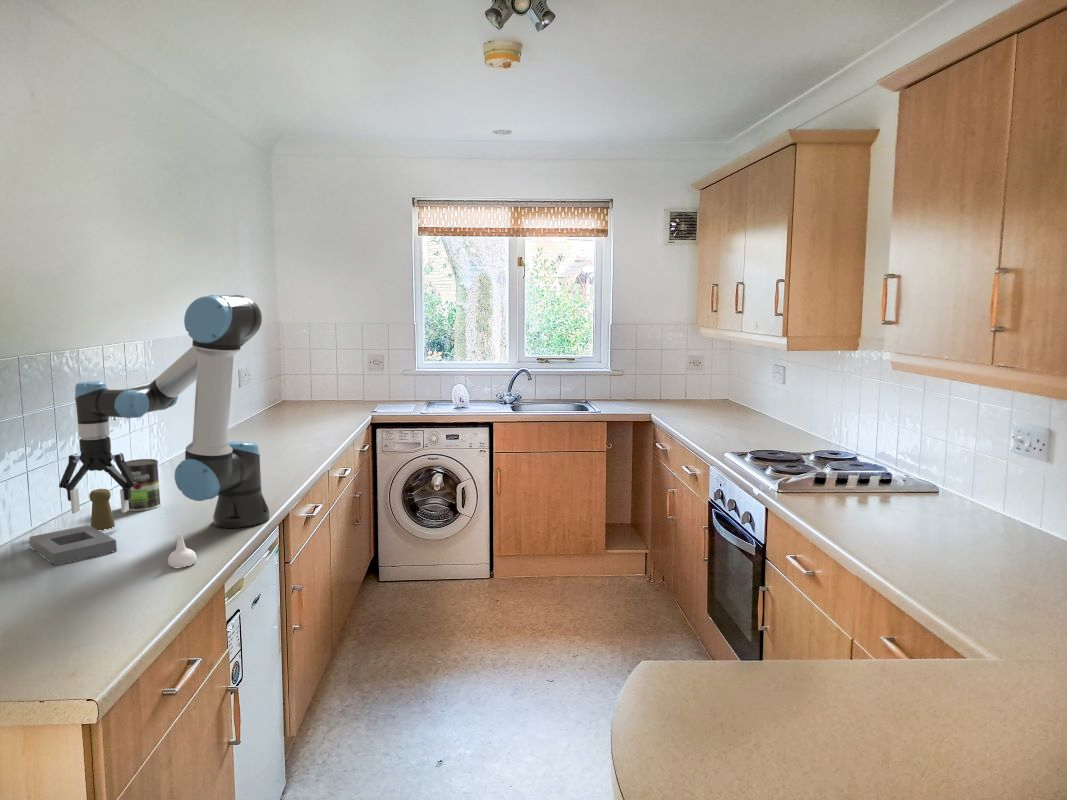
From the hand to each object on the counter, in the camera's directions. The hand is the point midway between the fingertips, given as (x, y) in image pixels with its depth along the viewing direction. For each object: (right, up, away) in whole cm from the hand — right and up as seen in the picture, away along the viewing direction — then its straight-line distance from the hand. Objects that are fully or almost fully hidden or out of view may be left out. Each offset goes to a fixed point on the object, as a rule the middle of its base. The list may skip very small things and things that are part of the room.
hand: (100, 511), depth 218 cm
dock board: (+3, -7, -18) cm, 20 cm away
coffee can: (+1, -2, +22) cm, 22 cm away
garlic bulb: (+37, -9, -30) cm, 48 cm away
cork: (0, -5, +1) cm, 5 cm away
